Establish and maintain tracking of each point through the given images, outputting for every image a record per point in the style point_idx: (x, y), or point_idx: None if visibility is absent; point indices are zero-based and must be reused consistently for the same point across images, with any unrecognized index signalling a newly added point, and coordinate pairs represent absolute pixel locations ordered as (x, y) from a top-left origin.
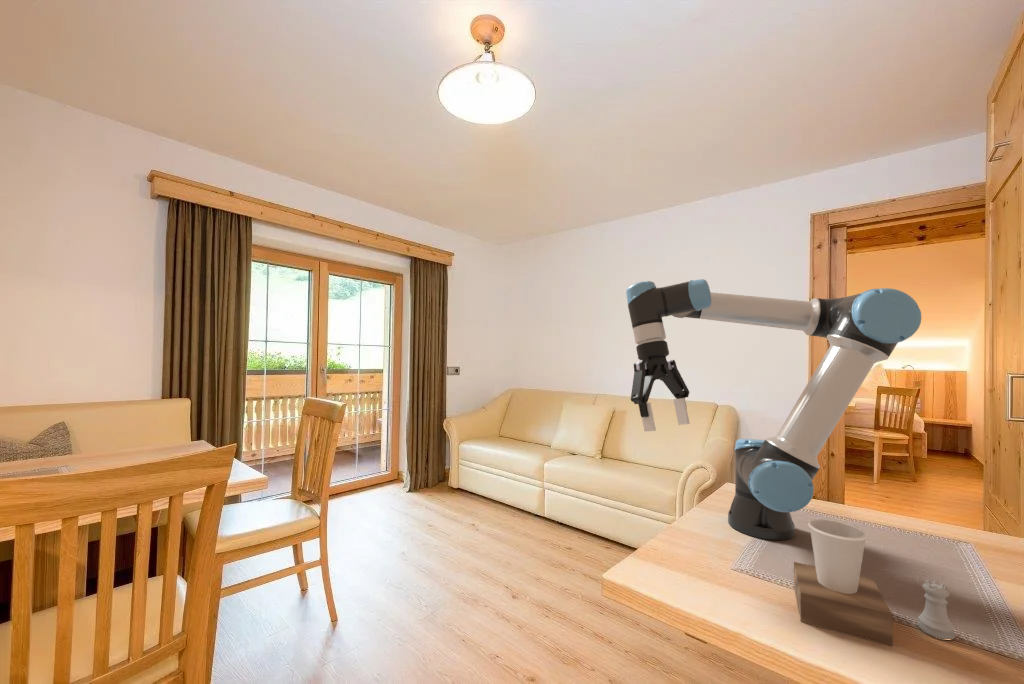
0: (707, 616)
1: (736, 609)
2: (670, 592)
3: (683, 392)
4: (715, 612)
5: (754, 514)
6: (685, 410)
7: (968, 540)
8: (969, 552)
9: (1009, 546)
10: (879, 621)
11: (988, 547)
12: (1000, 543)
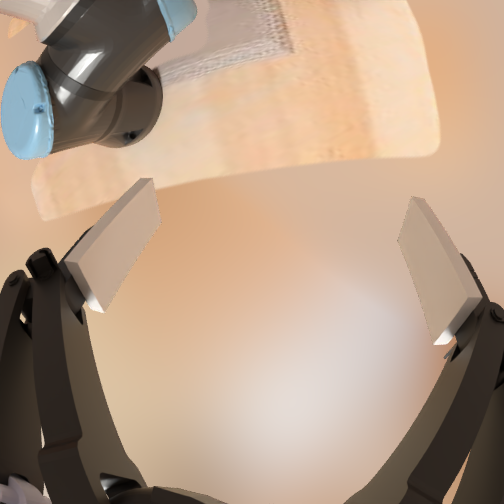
0: (418, 41)
1: (381, 21)
2: (414, 85)
3: (39, 289)
4: (405, 36)
5: (138, 87)
6: (116, 213)
7: (26, 21)
8: None
9: None
10: None
11: None
12: None
